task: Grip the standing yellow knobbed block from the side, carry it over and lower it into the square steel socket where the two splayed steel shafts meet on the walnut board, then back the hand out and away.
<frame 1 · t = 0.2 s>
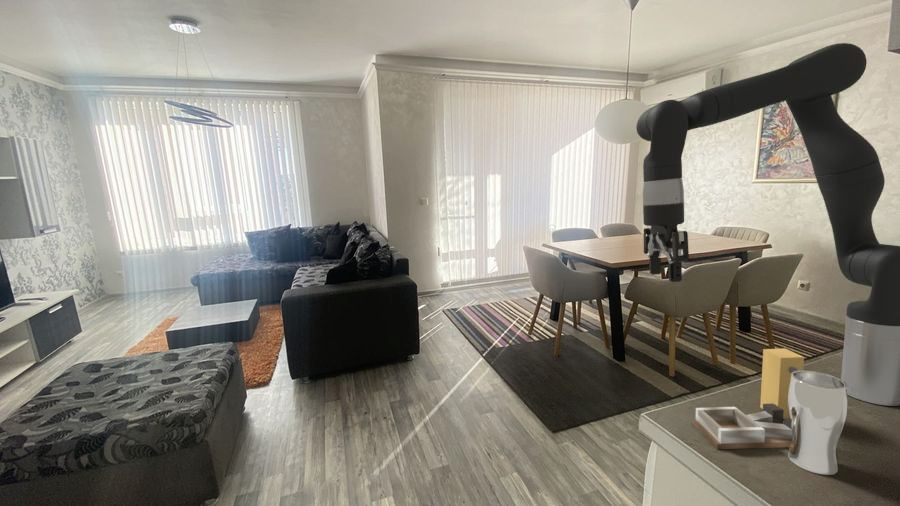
hand: (664, 277, 81), 29 cm above the counter, tool pointing down, fingers open, 8 cm apart
coupling board: (746, 434, 71), on the counter
beer glass: (811, 463, 63), on the counter
yellow knobbed block: (779, 412, 78), on the counter
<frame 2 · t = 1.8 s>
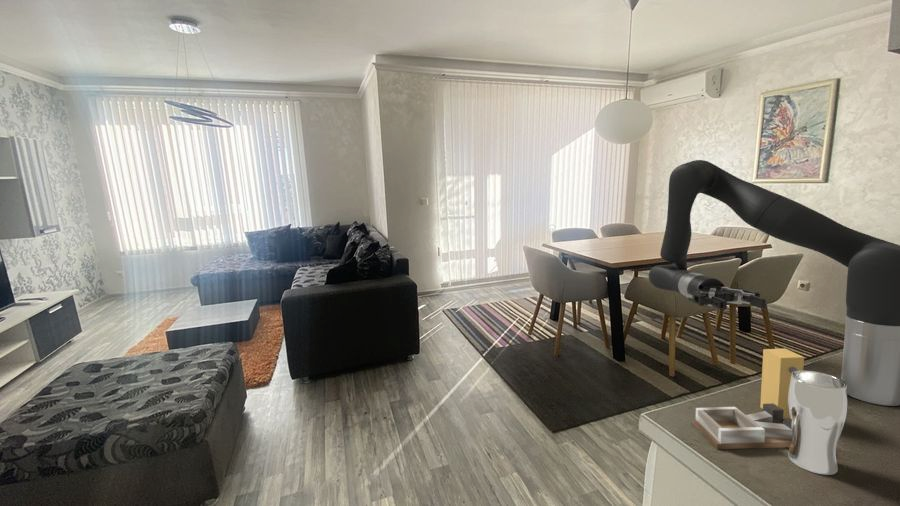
hand: (744, 304, 86), 20 cm above the counter, tool horizontal, fingers open, 8 cm apart
nothing on the counter moved.
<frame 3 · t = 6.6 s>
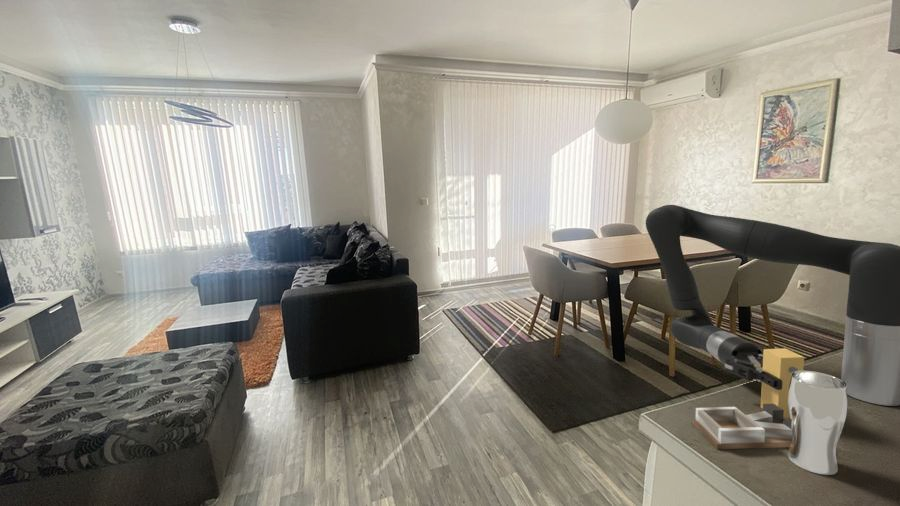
hand: (793, 384, 74), 8 cm above the counter, tool horizontal, fingers closed on yellow knobbed block, 4 cm apart
yellow knobbed block: (779, 412, 78), on the counter, touching gripper
everything else where it was.
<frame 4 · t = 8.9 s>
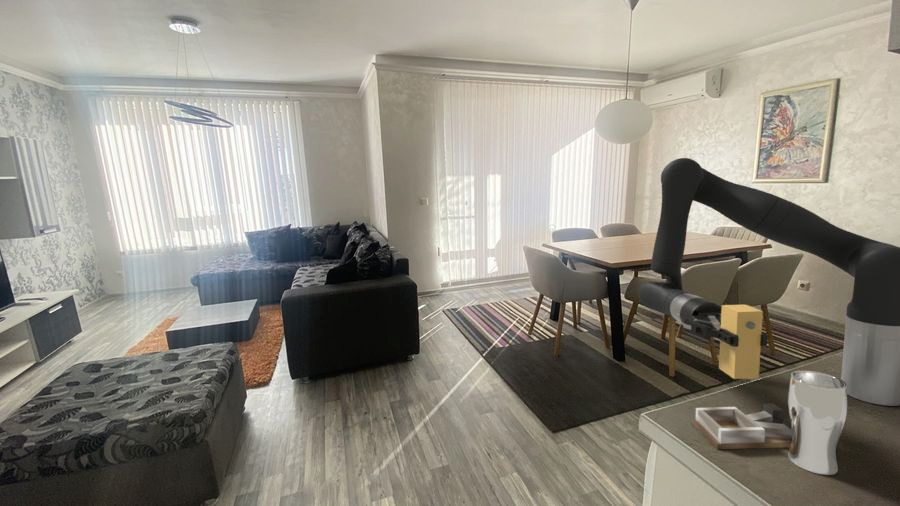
hand: (750, 341, 68), 19 cm above the counter, tool horizontal, fingers closed on yellow knobbed block, 4 cm apart
yellow knobbed block: (738, 373, 72), point 11 cm above the counter, touching gripper
everything else where it was.
when the fingers open (10 cm above the counter, at t = 11.3 s): yellow knobbed block drops 1 cm, resting on coupling board.
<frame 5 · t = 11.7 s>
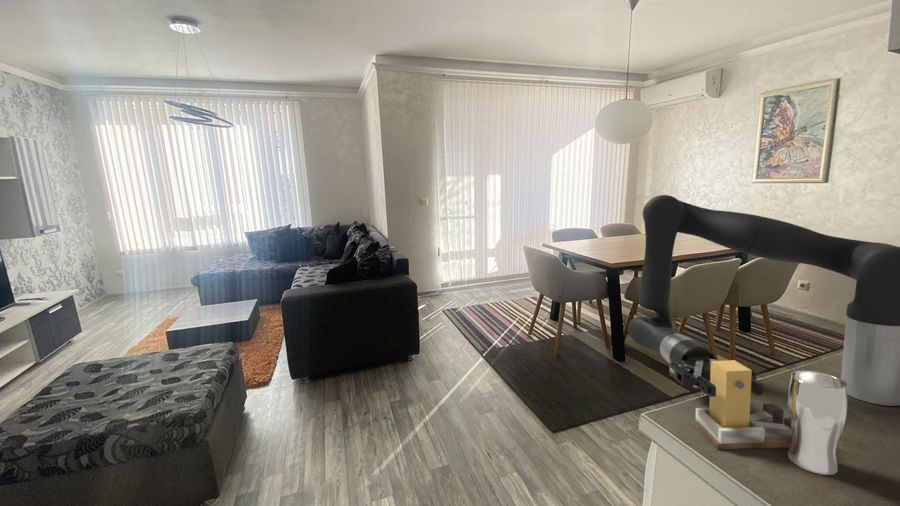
hand: (737, 391, 68), 10 cm above the counter, tool horizontal, fingers open, 8 cm apart
yellow knobbed block: (728, 430, 72), point 1 cm above the counter, touching coupling board
everything else where it was.
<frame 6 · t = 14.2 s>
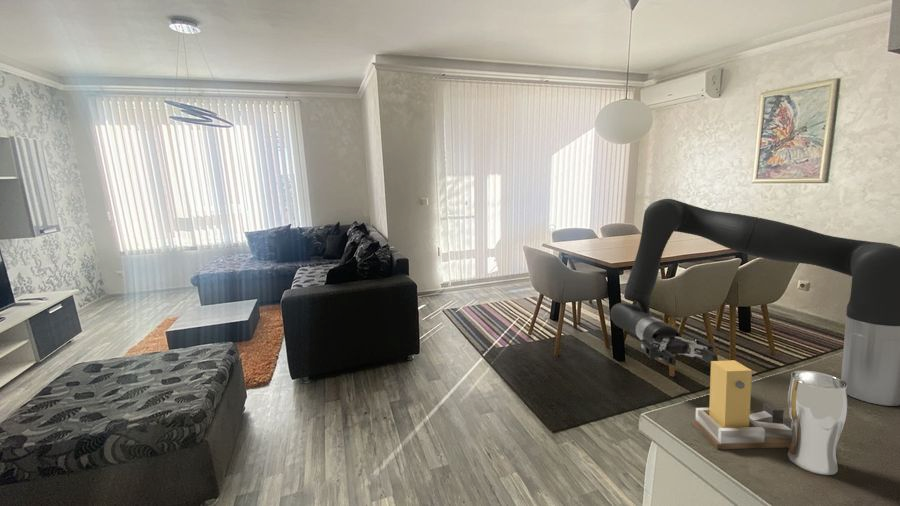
hand: (694, 361, 81), 10 cm above the counter, tool horizontal, fingers open, 8 cm apart
nothing on the counter moved.
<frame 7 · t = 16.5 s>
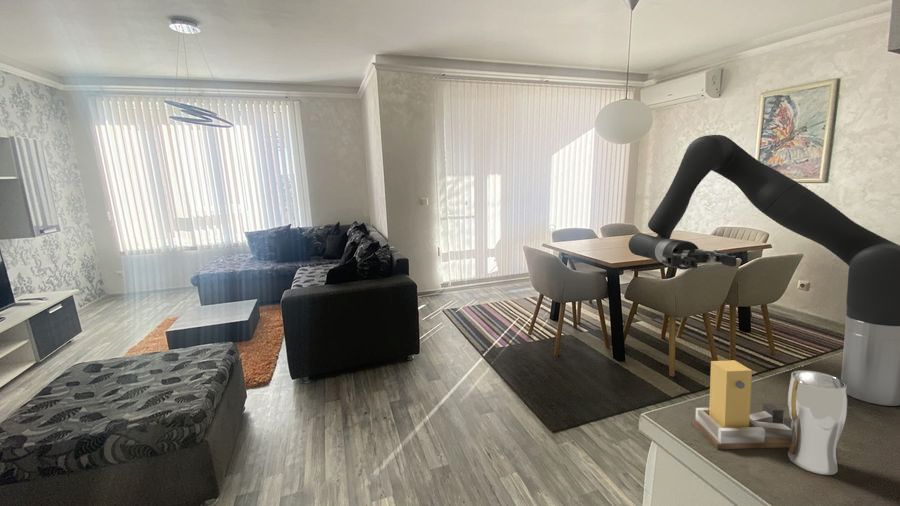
hand: (715, 263, 86), 30 cm above the counter, tool horizontal, fingers open, 8 cm apart
nothing on the counter moved.
at the end: yellow knobbed block 0.1 cm from the target spot on the coupling board, point 1.0 cm above the coupling board's base; yellow knobbed block tilted 0°; the gripper is holding nothing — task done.
